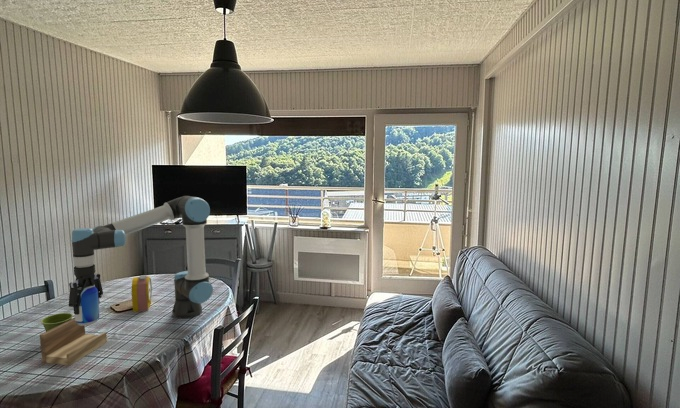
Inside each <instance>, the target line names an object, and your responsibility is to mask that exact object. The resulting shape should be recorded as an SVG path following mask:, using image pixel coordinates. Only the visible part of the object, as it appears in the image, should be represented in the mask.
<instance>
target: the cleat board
mask: <svg viewBox="0 0 680 408" xmlns="http://www.w3.org/2000/svg"><path fill="white" fill-rule="evenodd" d="M107 337H108V335H107V332H102V333H100V334H90V333H89V334H88V333H86V325H85V326H81V325H78V323H76V321H75V317H72V319H71V320H69V321H67V322H65V323H63V324H61V325H59V326H57V327H55V328H53V329H51V330H49V331H47V332H46V331H45V332H43V333H41V334H39V343H40V351H41V352H40V353H41V363H42V364H44V363H45V364H52V365H61V366H62V365H63V366H71V365H72V364H74V363H76V362H78V361H80V360H81V359H83V358H85V357H86V356H87V355H89V354H90V353H93V352H94V351H95V350H97V349H98V348H101V347H102V346H103V345H105V344H107V343H108V340H107V339H108V338H107Z"/></svg>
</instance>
